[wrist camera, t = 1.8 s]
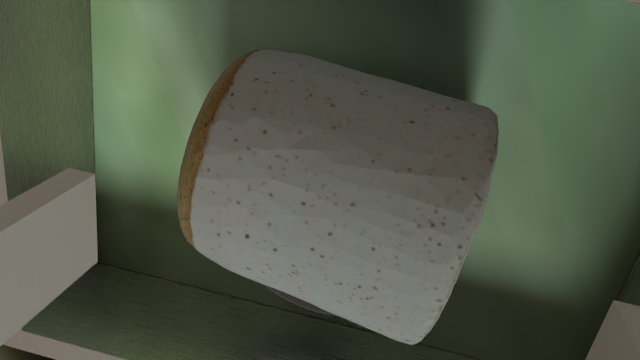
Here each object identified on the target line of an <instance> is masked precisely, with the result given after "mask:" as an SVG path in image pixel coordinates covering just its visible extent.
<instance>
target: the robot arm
mask: <svg viewBox="0 0 640 360" xmlns="http://www.w3.org/2000/svg"><path fill="white" fill-rule="evenodd" d="M97 262H98V249H97V218H96V186H95V174H93V173H89V172H84V171H80V170H76V169H72V168H68V169H66V170H64V171H62V172H60V173H59V174H57V175H55V176H53V177H51V178H49V179H48V180H46V181H44V182H42V183H40V184H39V185H37V186H35V187H33V188H31V189H30V190H28V191H26V192H24V193H22V194H21V195H19V196H17V197H15V198H13V199H12V200H10V201H8V202H6V203H4V204H2V205H1V206H0V346H1V345H2V344H4V343H5V342H6V341H7V340H8V339H9V338H10V337H12V336H13V335H14V334H15V333H16V332H17V331H19V330H20V329H21V328H22V327H23V326H24V325H25V324H27V323H28V322H29V321H30V320H31V319H32V318H33V317H35V316H36V315H37V314H38V313H39V312H40V311H41V310H43V309H44V308H45V307H46V306H47V305H48V304H49V303H51V302H52V301H53V300H54V299H55V298H56V297H58V296H59V295H60V294H61V293H62V292H63V291H64V290H66V289H67V288H68V287H69V286H70V285H71V284H72V283H74V282H75V281H76V280H77V279H78V278H79V277H80V276H82V275H83V274H84V273H85V272H86V271H87V270H89V269H90V268H91V267H92V266H93V265H94V264H95V263H97ZM585 360H640V306H636V305H632V304H628V303H624V302H619V301H615V300H613V302H612V304H611V306H610V309H609V311H608V313H607V315H606V317H605V319H604V321H603V323H602V325H601V327H600V330H599V332H598V334H597V336H596V338H595V340H594V342H593V344H592V346H591V349H590V351H589V353H588V355H587V357H586V359H585Z"/></svg>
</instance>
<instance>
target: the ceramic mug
mask: <svg viewBox="0 0 640 360" xmlns="http://www.w3.org/2000/svg"><path fill="white" fill-rule="evenodd" d="M498 134H499V132H498V121H497V115H496V114H495V113H494V112H493V111H492V110H491V109H490V108H487V107H484V106H481V105H478V104H474V103H471V102H467V101H463V100H460V99H456V98H452V97H448V96H445V95H441V94H438V93H435V92H431V91H428V90H425V89H421V88H418V87H415V86H411V85H408V84H404V83H401V82H398V81H394V80H391V79H387V78H383V77H379V76H376V75H372V74H368V73H364V72H361V71H357V70H354V69H351V68H347V67H344V66H341V65H338V64H334V63H331V62H328V61H325V60H322V59H319V58H316V57H312V56H308V55H304V54H299V53H292V52H284V51H277V50H255V51H252V52H250V53H247V54H245V55H244V56H242V57H240V58H239V59H237V60H236V61H234V62H233V63H232V64H231V65H230V66H229V67H228V68H227V69H226V70H225V71H224V72H223V73H222V74H221V75H220V77H219V78H218V80H217V81H216V83H215V84H214V86H213V87H212V88H211V90H210V91H209V93H208V95H207V97H206V99H205V101H204V103H203V105H202V107H201V109H200V112H199V114H198V116H197V118H196V121H195V123H194V125H193V128H192V131H191V134H190V137H189V139H188V142H187V146H186V150H185V154H184V157H183V161H182V165H181V171H180V176H179V185H178V195H177V209H178V216H179V221H180V227H181V229H182V232H183V234H184V236H185V238H186V240H187V241H188V242H189V243H190V244H191V245H192V246H193V247H194V248H195V249H196V250H197V251H199V252H200V253H201V254H203V255H204V256H206V257H207V258H209V259H211V260H212V261H214V262H215V263H217V264H219V265H220V266H222V267H224V268H225V269H227V270H230V271H232V272H234V273H236V274H239V275H241V276H243V277H246V278H248V279H251V280H253V281H256V282H259V283H261V284H262V285H263V286H264V287H266V288H267V289H268V290H270V291H271V292H273V293H274V294H276V295H277V296H279V297H281V298H282V299H285V300H287V301H289V302H291V303H292V304H295V305H297V306H299V307H302V308H304V309H307V310H310V311H313V312H317V313H321V314H325V315H330V316H338V317H342V318H345V319H347V320H349V321H352V322H354V323H356V324H359V325H361V326H363V327H365V328H368V329H370V330H373V331H375V332H377V333H380V334H382V335H384V336H387V337H389V338H391V339H394V340H396V341H399V342H403V343H406V344H410V345H413V344H416V343H418V342H420V341H422V340H423V338H424V337H425V336H426V335H427V334H428V333H429V332H430V331H431V329H432V328H433V326H434V325H435V323H436V322H437V320H438V319H439V317H440V314H441V312H442V310H443V309H444V307H445V305H446V303H447V301H448V299H449V297H450V295H451V293H452V290H453V286H454V285H455V283H456V282H457V279H458V276H459V273H460V271H461V268H462V266H463V263H464V261H465V258H466V256H467V254H468V251H469V249H470V247H471V244H472V241H473V239H474V236H475V233H476V231H477V228H478V225H479V223H480V220H481V217H482V214H483V210H484V207H485V204H486V200H487V196H488V192H489V185H490V178H491V175H492V172H493V169H494V166H495V161H496V156H497V147H498Z"/></svg>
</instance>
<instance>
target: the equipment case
mask: <svg viewBox="0 0 640 360" xmlns="http://www.w3.org/2000/svg"><path fill="white" fill-rule="evenodd" d="M623 1H629V2H635V3H640V0H623ZM68 168H72V169H76V170H80V171H84V172H89V173H93V174H95V165H94V132H93V100H92V67H91V34H90V1H89V0H0V206H1V205H2V204H4V203H6V202H8V201H10V200H12V199H13V198H15V197H17V196H19V195H21V194H22V193H24V192H26V191H28V190H30V189H31V188H33V187H35V186H37V185H39V184H40V183H42V182H44V181H46V180H48V179H49V178H51V177H53V176H55V175H57V174H59V173H60V172H62V171H64V170H66V169H68ZM617 301H619V302H624V303H628V304H632V305H636V306H640V254H639V256H638V258H637V260H636V262H635V264H634V266H633V269H632V271H631V273H630V275H629V277H628V279H627V281H626V283H625V285H624V287H623V289H622V292H621V294H620V296H619V298H618V300H617ZM2 345H6V346H9V347H13V348H16V349H20V350H24V351H27V352H31V353H34V354H38V355H41V356H45V357H48V358H52V359H56V360H478V359H474V358H470V357H466V356H462V355H458V354H454V353H450V352H446V351H442V350H439V349H435V348H431V347H427V346H423V345H419V344H413V345H410V344H406V343H403V342H399V341H396V340H394V339H391V338H389V337H387V336H384V335H380V334H376V333H372V332H368V331H364V330H360V329H356V328H352V327H348V326H344V325H340V324H336V323H333V322H329V321H325V320H321V319H317V318H313V317H309V316H305V315H301V314H297V313H293V312H289V311H285V310H281V309H278V308H274V307H270V306H266V305H262V304H258V303H254V302H250V301H246V300H242V299H238V298H234V297H230V296H226V295H223V294H219V293H215V292H211V291H207V290H203V289H199V288H195V287H191V286H187V285H183V284H179V283H175V282H171V281H168V280H164V279H160V278H156V277H152V276H148V275H144V274H140V273H136V272H132V271H128V270H124V269H120V268H116V267H113V266H109V265H105V264H101V263H95V264H94V265H93V266H92V267H91V268H90V269H89V270H87V271H86V272H85V273H84V274H83V275H82V276H80V277H79V278H78V279H77V280H76V281H75V282H74V283H72V284H71V285H70V286H69V287H68V288H67V289H66V290H64V291H63V292H62V293H61V294H60V295H59V296H58V297H56V298H55V299H54V300H53V301H52V302H51V303H49V304H48V305H47V306H46V307H45V308H44V309H43V310H41V311H40V312H39V313H38V314H37V315H36V316H35V317H33V318H32V319H31V320H30V321H29V322H28V323H27V324H25V325H24V326H23V327H22V328H21V329H20V330H19V331H17V332H16V333H15V334H14V335H13V336H12V337H10V338H9V339H8V340H7V341H6V342H5V343H4V344H2Z"/></svg>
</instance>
